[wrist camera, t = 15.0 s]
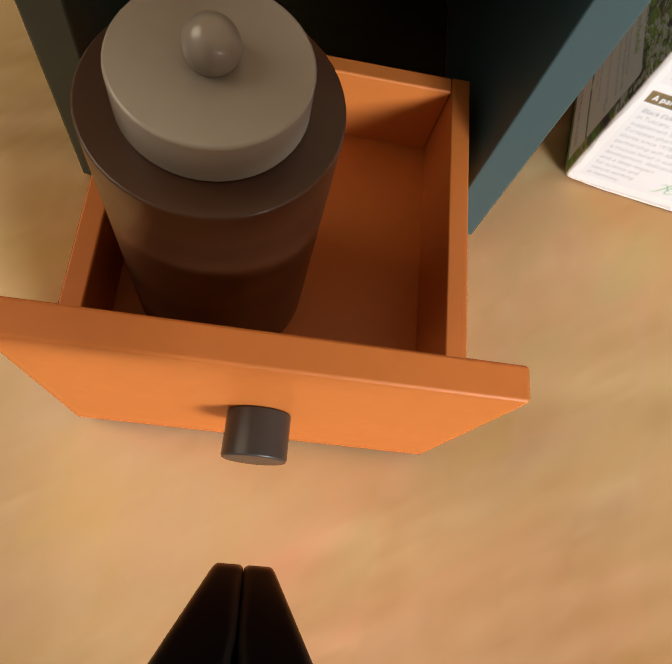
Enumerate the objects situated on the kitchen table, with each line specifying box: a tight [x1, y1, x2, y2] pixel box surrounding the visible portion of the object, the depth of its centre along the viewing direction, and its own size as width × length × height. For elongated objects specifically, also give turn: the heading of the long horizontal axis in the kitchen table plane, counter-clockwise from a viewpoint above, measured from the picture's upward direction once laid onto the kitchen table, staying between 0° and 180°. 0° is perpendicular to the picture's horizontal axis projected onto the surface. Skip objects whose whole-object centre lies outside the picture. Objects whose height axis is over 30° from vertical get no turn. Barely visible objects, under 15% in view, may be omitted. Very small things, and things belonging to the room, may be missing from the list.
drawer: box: [0, 55, 530, 465], centre depth 17 cm, size 13×11×8 cm
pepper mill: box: [71, 0, 346, 333], centre depth 14 cm, size 5×5×10 cm
